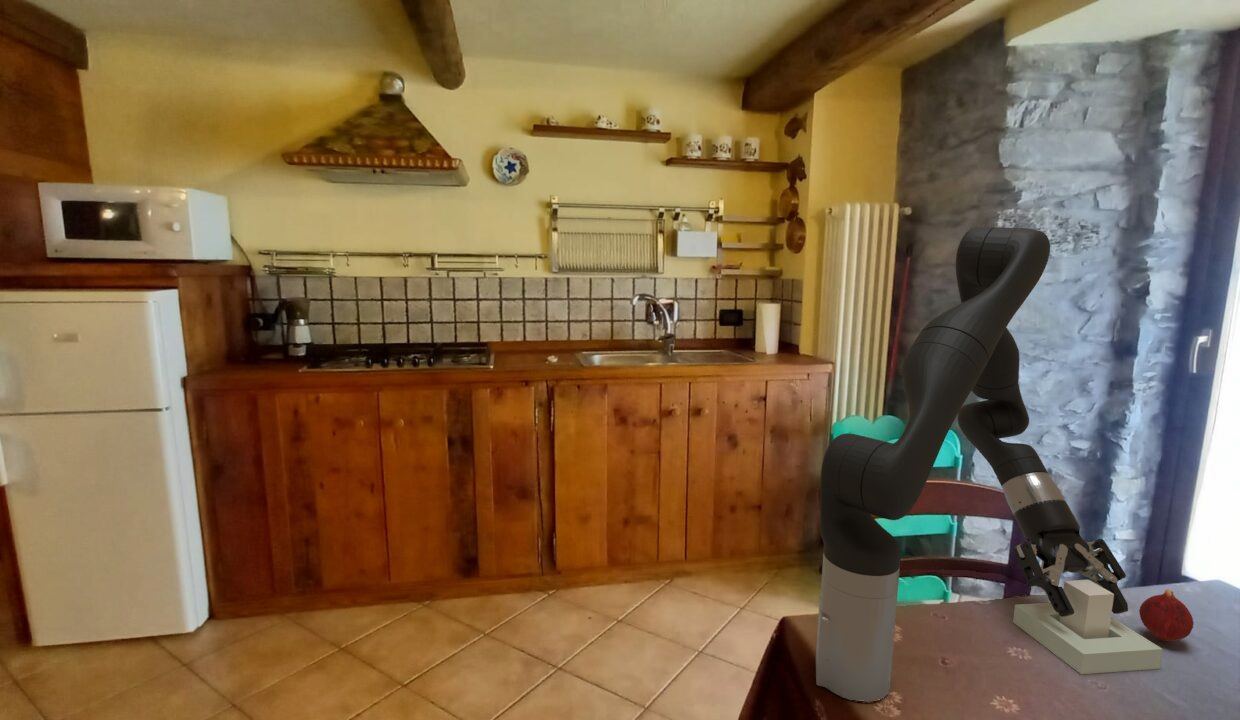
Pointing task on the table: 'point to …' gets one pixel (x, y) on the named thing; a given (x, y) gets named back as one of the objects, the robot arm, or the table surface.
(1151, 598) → the onion
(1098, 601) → the plug
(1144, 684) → the table surface
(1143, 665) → the socket
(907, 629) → the table surface
